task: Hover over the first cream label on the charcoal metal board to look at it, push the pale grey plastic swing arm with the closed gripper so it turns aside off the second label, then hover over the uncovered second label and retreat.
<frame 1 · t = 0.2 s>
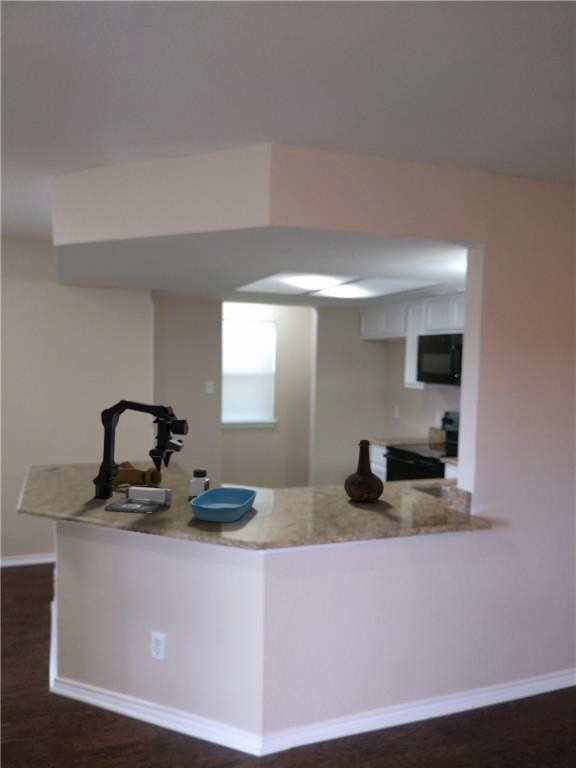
hand: (162, 469, 240), 14 cm above the worktop, tool pointing down, fingers open, 9 cm apart
swing arm: (149, 493, 236), point 5 cm above the worktop, hinge at 0.0°
brown looped sculpture: (132, 486, 267), on the worktop
casserole dish: (224, 513, 228), on the worktop
medicine bottle: (199, 495, 254), on the worktop
label board: (136, 506, 232), on the worktop
glass bottle: (363, 500, 255), on the worktop
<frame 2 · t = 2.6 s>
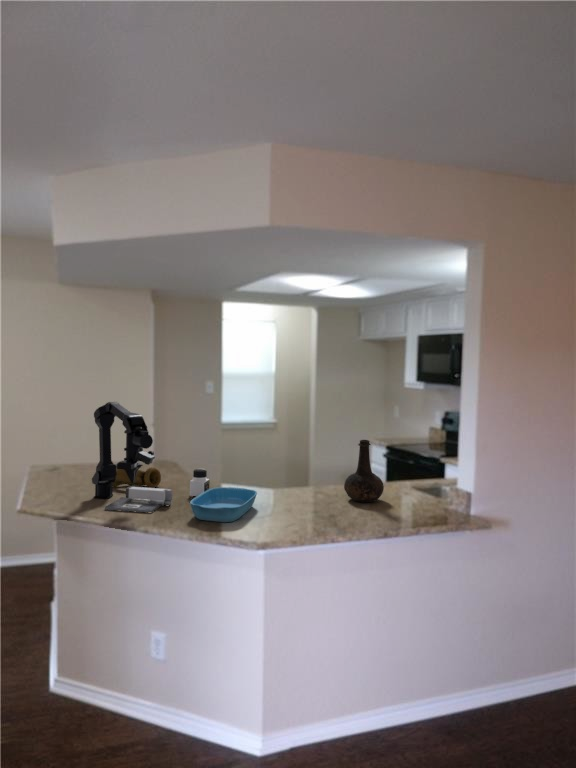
hand: (132, 482, 228), 11 cm above the worktop, tool pointing down, fingers closed
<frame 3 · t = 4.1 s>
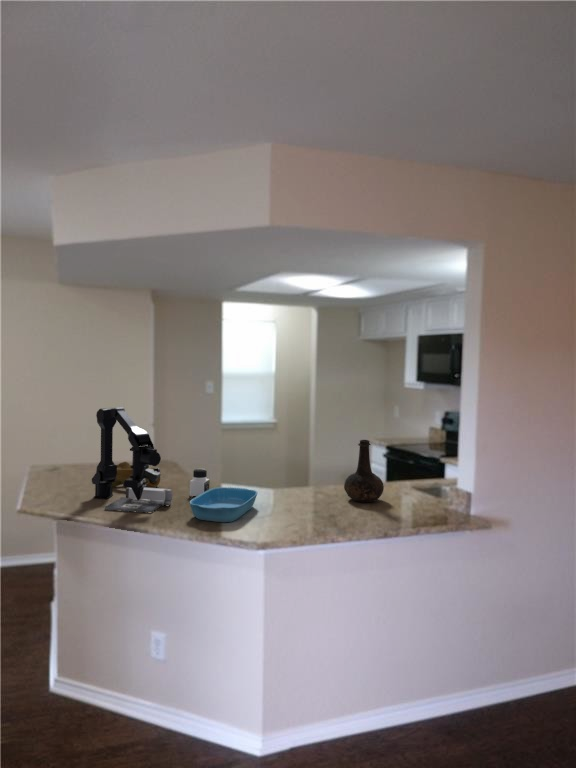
hand: (138, 499, 230), 4 cm above the worktop, tool pointing down, fingers closed
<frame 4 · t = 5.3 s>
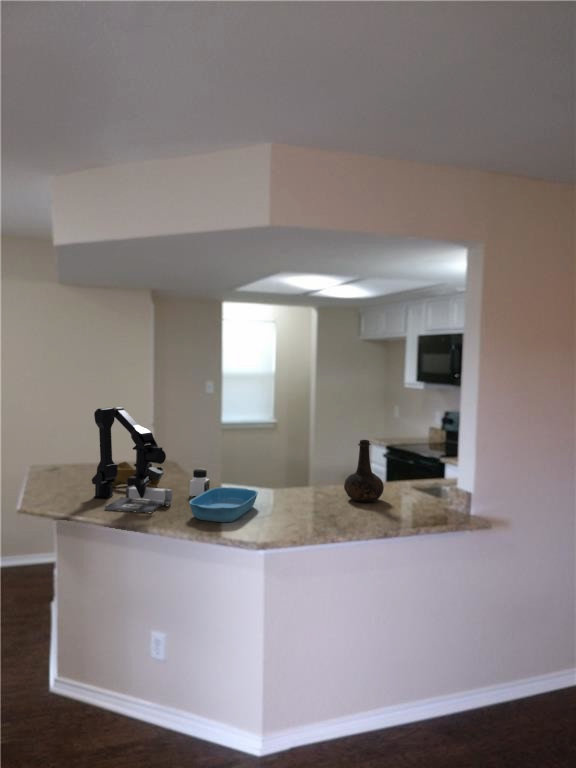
hand: (141, 497, 233), 3 cm above the worktop, tool pointing down, fingers closed
swing arm: (149, 493, 237), point 4 cm above the worktop, hinge at 0.8°, touching gripper
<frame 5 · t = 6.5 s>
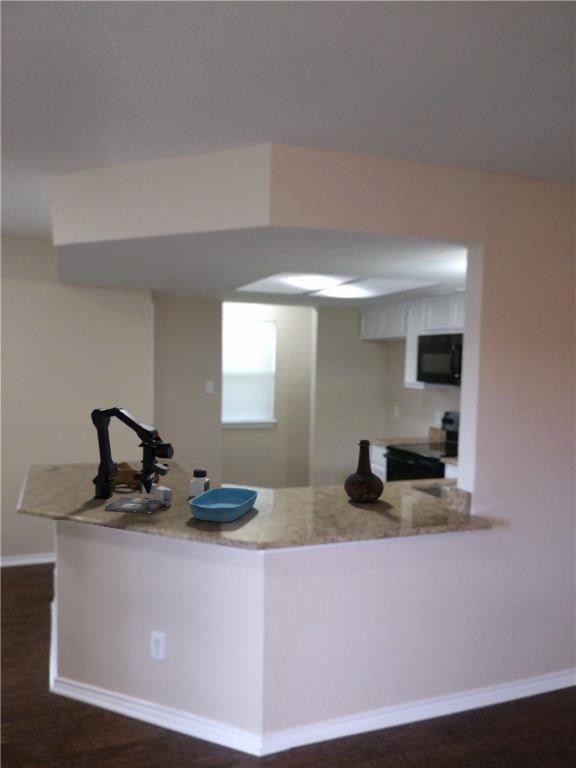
hand: (148, 493, 239), 4 cm above the worktop, tool pointing down, fingers closed
swing arm: (157, 491, 241), point 4 cm above the worktop, hinge at 36.6°, touching gripper
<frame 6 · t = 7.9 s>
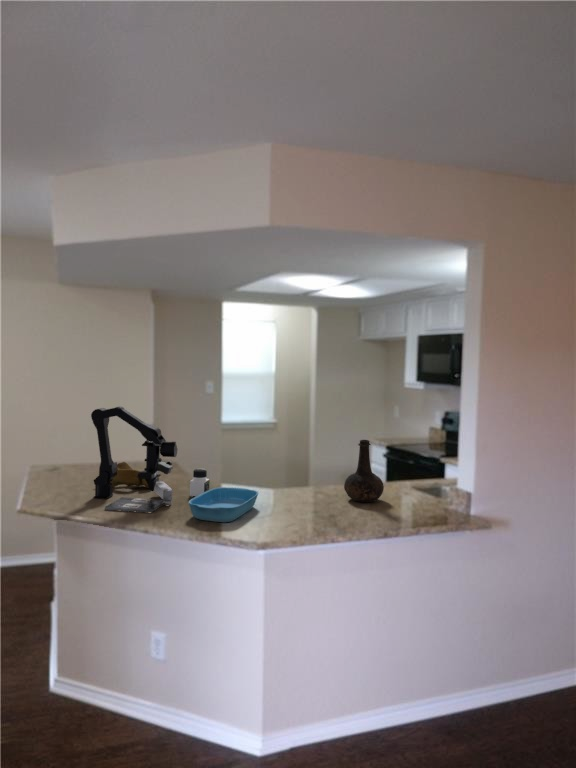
hand: (152, 491, 244), 4 cm above the worktop, tool pointing down, fingers closed
swing arm: (163, 490, 243), point 4 cm above the worktop, hinge at 55.9°, touching gripper
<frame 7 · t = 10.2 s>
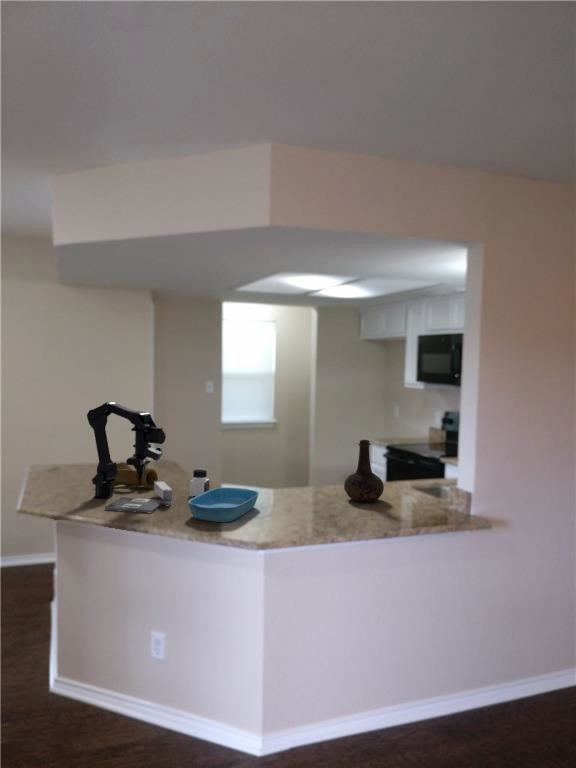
hand: (141, 478, 237), 11 cm above the worktop, tool pointing down, fingers closed
swing arm: (163, 490, 243), point 5 cm above the worktop, hinge at 56.1°
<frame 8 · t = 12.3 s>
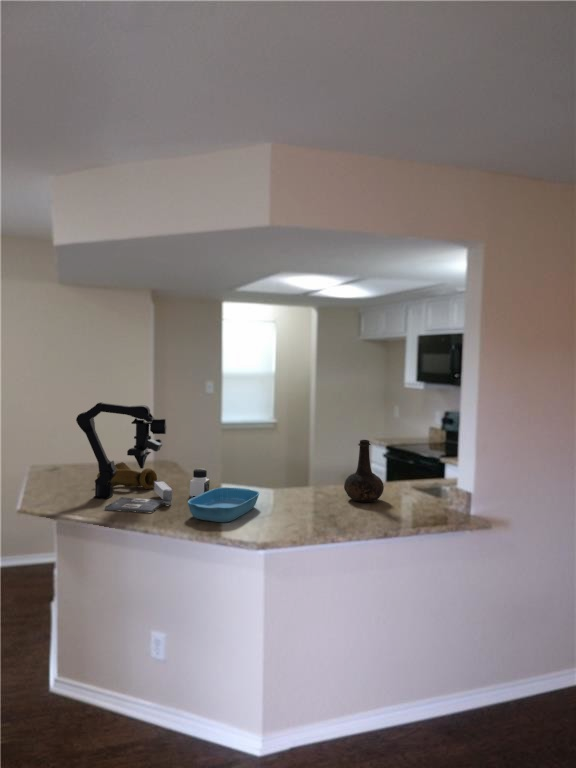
hand: (141, 468, 247), 13 cm above the worktop, tool pointing down, fingers closed
at the end: swing arm at +56° (first picture: +0°); medicine bottle moved 0.2 cm from its start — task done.
